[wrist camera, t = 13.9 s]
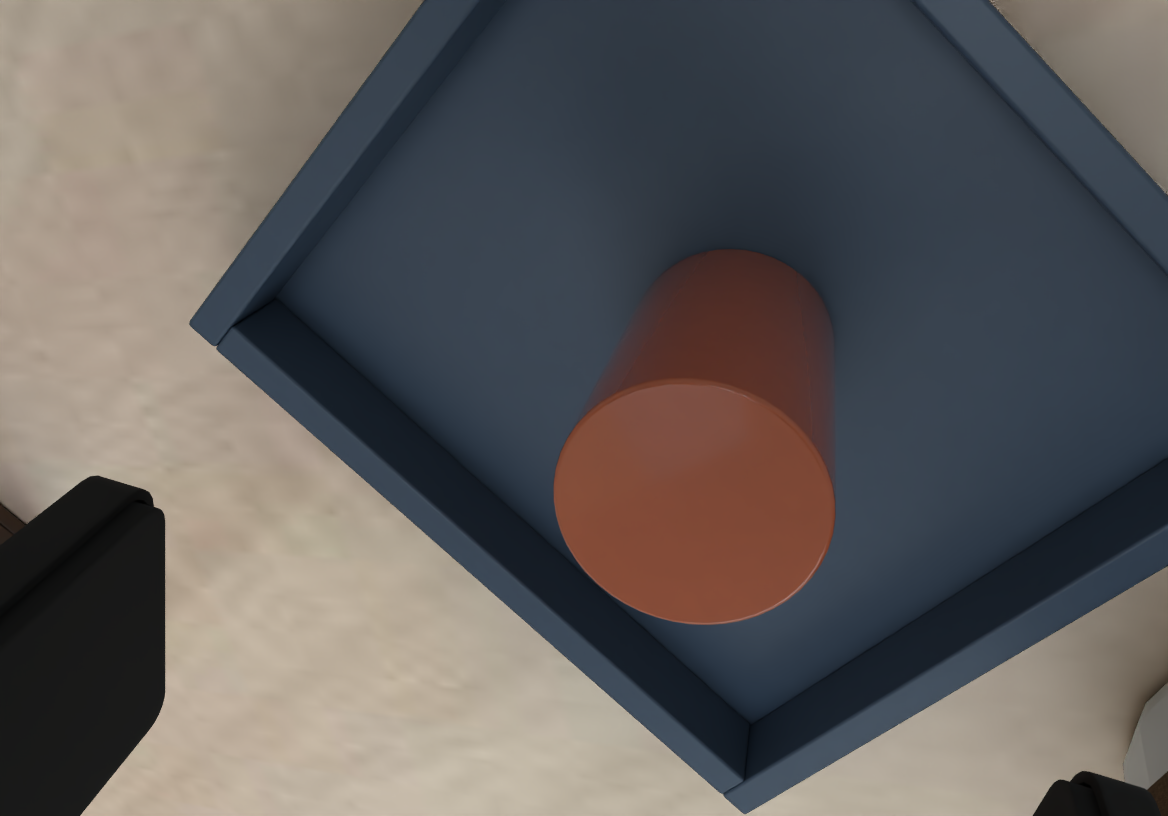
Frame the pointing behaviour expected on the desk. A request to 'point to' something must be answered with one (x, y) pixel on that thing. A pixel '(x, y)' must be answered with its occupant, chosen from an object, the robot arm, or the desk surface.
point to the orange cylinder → (708, 445)
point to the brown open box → (8, 524)
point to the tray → (774, 228)
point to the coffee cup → (1151, 750)
